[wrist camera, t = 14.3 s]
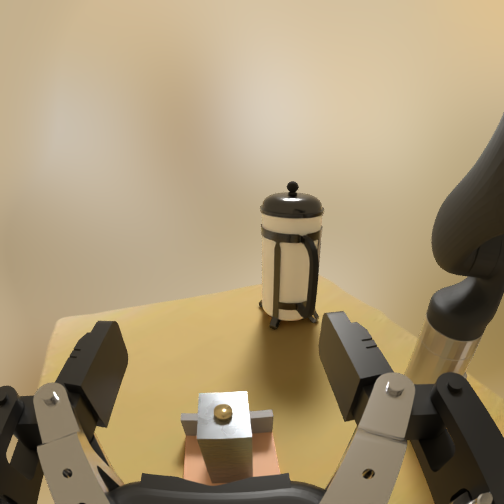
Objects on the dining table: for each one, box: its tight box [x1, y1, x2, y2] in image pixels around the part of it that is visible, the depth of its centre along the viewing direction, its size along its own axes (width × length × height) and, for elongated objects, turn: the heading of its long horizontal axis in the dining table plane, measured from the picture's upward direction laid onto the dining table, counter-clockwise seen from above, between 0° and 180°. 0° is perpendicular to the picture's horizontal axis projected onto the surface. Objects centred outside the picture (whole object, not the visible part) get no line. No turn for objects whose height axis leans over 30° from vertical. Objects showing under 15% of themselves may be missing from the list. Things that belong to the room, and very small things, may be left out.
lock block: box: [197, 391, 253, 483], centre depth 26 cm, size 5×6×13 cm
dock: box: [181, 410, 280, 486], centre depth 28 cm, size 12×13×6 cm
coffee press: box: [259, 181, 324, 329], centre depth 59 cm, size 17×16×30 cm
